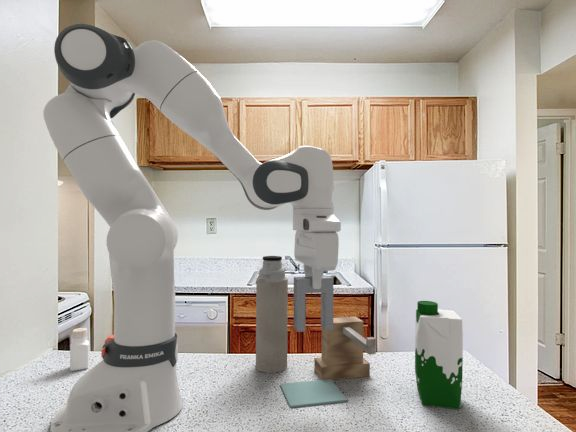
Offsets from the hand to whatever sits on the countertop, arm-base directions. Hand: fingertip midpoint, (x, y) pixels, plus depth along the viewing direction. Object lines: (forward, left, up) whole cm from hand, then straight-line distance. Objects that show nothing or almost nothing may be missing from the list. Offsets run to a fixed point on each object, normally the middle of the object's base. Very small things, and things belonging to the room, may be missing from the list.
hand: (313, 286), depth 79 cm
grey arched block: (0, 0, -9) cm, 9 cm away
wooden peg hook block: (+10, +2, -23) cm, 25 cm away
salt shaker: (-53, +25, -23) cm, 63 cm away
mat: (0, 0, -23) cm, 23 cm away
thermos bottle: (-6, +16, -23) cm, 29 cm away
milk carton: (+25, -8, -23) cm, 35 cm away
